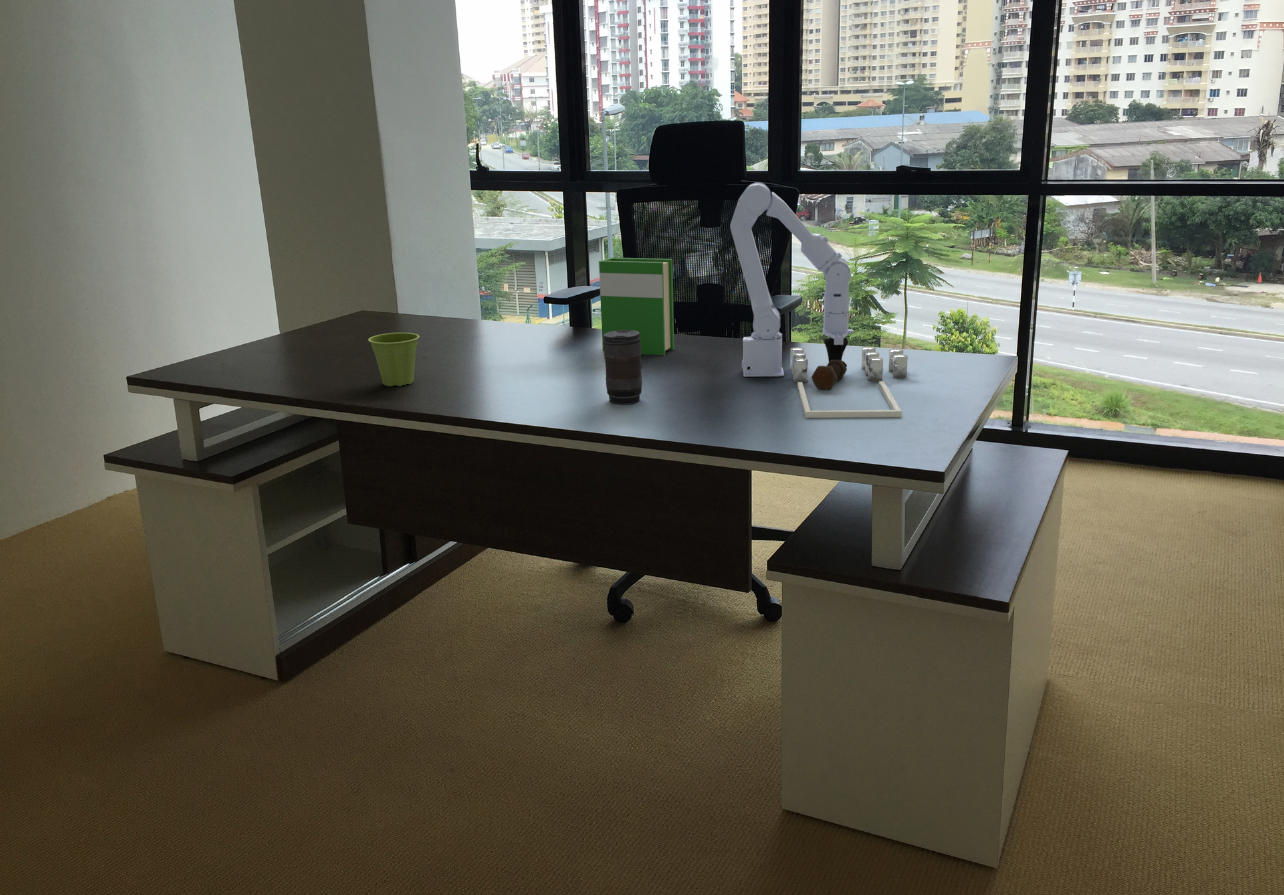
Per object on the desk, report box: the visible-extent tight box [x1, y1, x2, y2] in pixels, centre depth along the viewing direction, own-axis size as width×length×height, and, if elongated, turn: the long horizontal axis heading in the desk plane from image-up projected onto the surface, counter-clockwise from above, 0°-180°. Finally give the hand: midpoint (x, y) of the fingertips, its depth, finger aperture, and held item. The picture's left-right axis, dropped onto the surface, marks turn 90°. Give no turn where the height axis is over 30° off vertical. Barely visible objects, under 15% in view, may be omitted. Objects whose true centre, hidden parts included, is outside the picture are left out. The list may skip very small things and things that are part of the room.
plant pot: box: [368, 332, 420, 387], centre depth 244 cm, size 12×12×11 cm
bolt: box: [811, 359, 848, 391], centre depth 234 cm, size 6×5×15 cm
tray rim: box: [797, 380, 902, 419], centre depth 218 cm, size 19×25×1 cm
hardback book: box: [598, 257, 675, 356], centre depth 270 cm, size 18×7×24 cm, turn 67°
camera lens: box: [603, 330, 643, 405], centre depth 222 cm, size 8×8×15 cm
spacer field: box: [789, 346, 909, 384], centre depth 240 cm, size 26×15×5 cm, turn 85°
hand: (834, 368), depth 242 cm, fingers closed
